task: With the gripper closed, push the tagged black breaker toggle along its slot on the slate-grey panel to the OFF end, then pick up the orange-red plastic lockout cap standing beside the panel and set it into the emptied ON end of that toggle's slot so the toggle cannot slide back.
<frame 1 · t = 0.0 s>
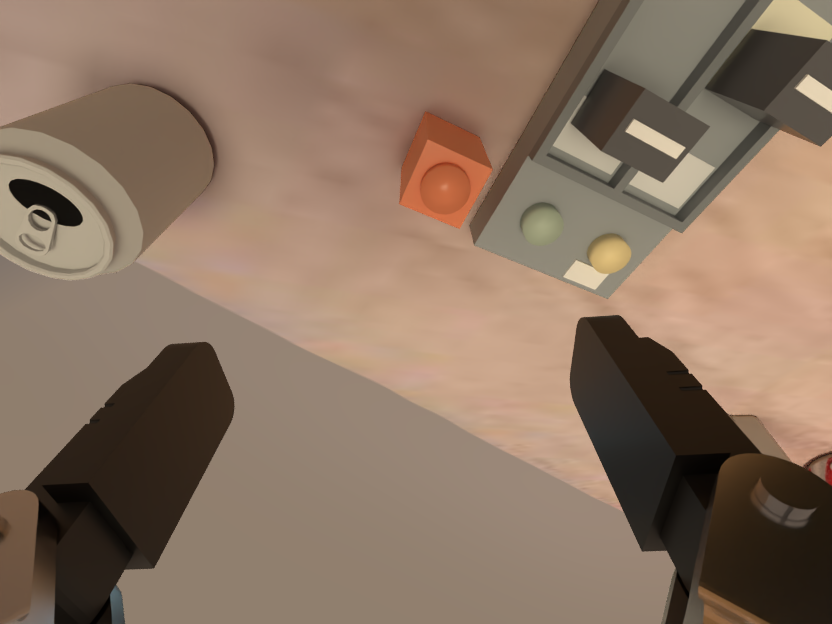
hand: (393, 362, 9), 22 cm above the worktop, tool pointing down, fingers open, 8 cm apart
breaker b: (633, 124, 22), point 6 cm above the worktop, slide at 4.5 cm
breaker a: (785, 86, 21), point 6 cm above the worktop, slide at 0.0 cm
lockout cap: (439, 152, 28), on the worktop
soda can: (829, 461, 53), on the worktop
breaker panel: (620, 133, 28), on the worktop
beige upright slab: (711, 422, 48), on the worktop
can: (162, 142, 28), on the worktop
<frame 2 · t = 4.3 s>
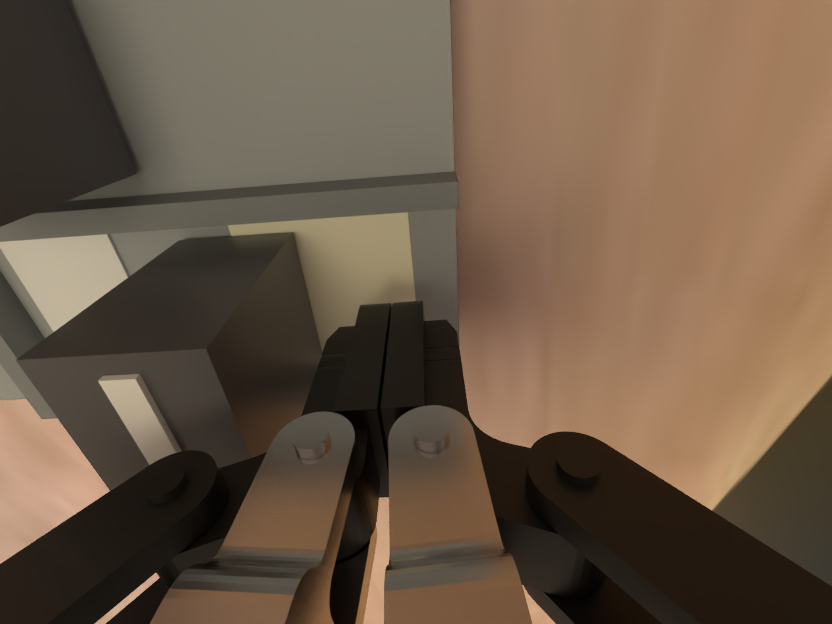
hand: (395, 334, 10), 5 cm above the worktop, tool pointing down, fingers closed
breaker a: (219, 360, 9), point 6 cm above the worktop, slide at 1.2 cm, touching gripper
breaker panel: (131, 184, 13), on the worktop
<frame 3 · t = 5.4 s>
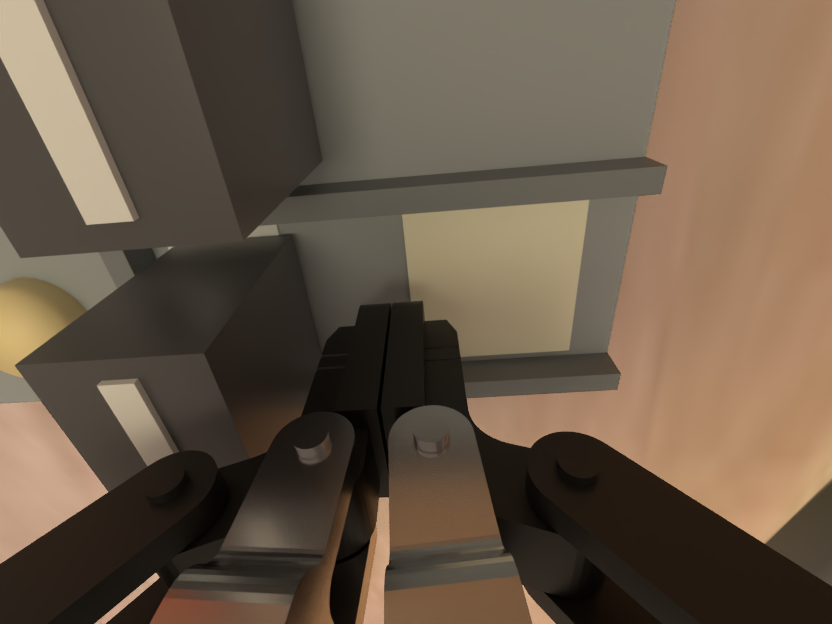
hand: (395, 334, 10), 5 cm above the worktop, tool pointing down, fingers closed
breaker b: (168, 68, 6), point 6 cm above the worktop, slide at 4.5 cm
breaker a: (218, 363, 9), point 6 cm above the worktop, slide at 5.6 cm, touching gripper
breaker panel: (269, 175, 13), on the worktop
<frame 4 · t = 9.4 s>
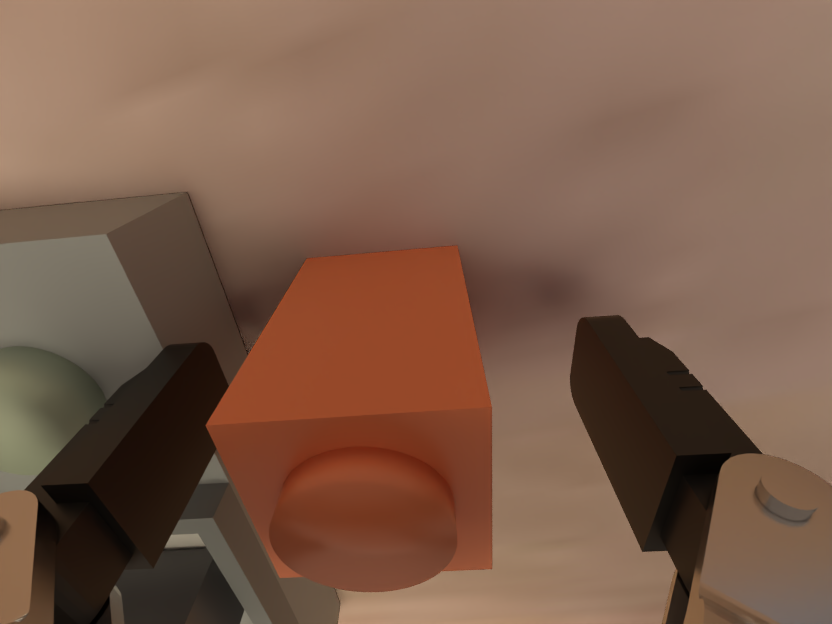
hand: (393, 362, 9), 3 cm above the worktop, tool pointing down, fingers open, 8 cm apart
lockout cap: (390, 316, 12), on the worktop
breaker panel: (132, 476, 15), on the worktop
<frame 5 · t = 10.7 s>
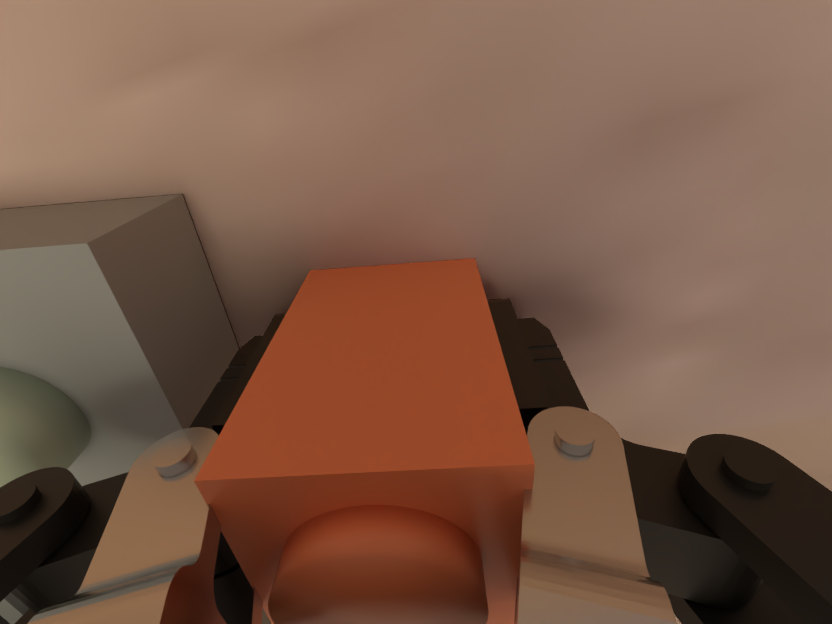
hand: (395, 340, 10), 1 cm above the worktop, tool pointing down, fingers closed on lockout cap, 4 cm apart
lockout cap: (400, 332, 11), on the worktop, touching gripper
breaker panel: (121, 494, 14), on the worktop
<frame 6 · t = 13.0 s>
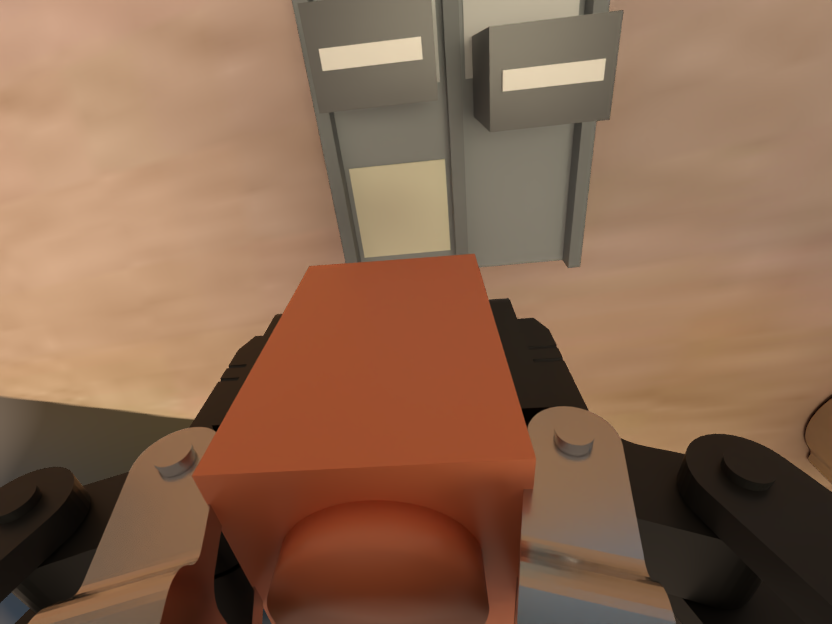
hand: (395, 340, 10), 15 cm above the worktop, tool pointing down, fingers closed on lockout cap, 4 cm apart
breaker b: (534, 73, 15), point 6 cm above the worktop, slide at 4.5 cm
breaker a: (378, 55, 15), point 6 cm above the worktop, slide at 5.7 cm
lockout cap: (399, 329, 11), point 14 cm above the worktop, touching gripper
breaker panel: (447, 54, 20), on the worktop
when the fingers open (5 cm above the worktop, at t = 15.7 s): lockout cap stays where it is, resting on breaker panel.
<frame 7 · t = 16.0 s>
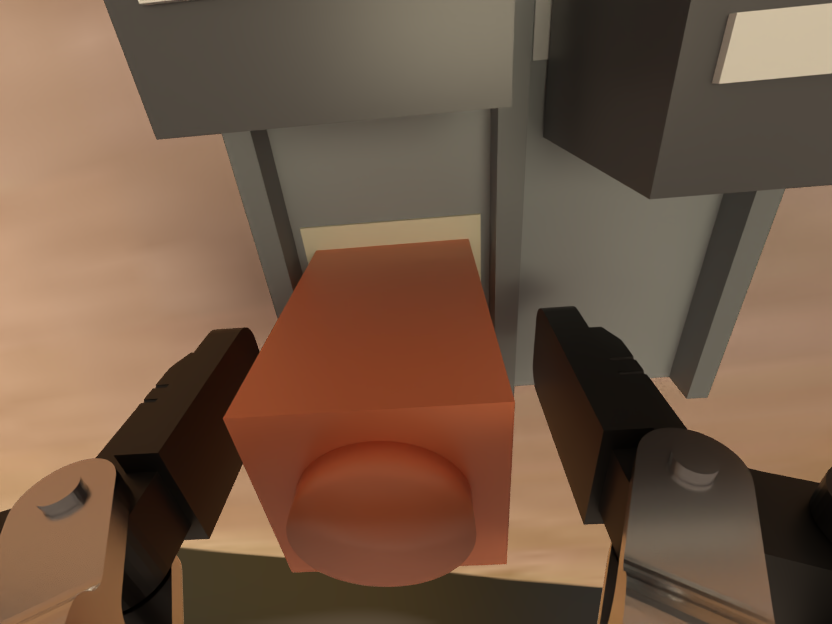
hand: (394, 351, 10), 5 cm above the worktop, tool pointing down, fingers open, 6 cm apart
breaker b: (728, 44, 6), point 6 cm above the worktop, slide at 4.5 cm
lockout cap: (399, 310, 12), point 3 cm above the worktop, touching breaker panel
breaker panel: (485, 19, 11), on the worktop
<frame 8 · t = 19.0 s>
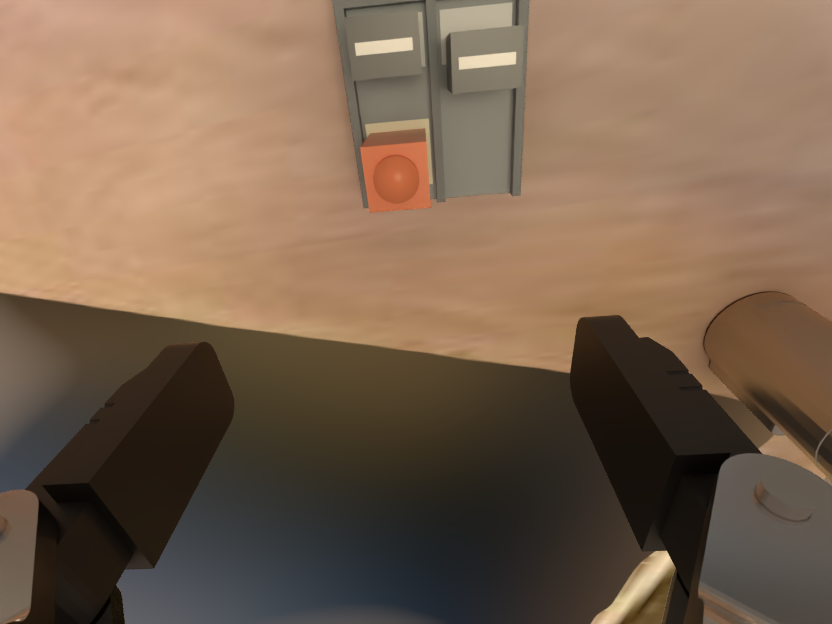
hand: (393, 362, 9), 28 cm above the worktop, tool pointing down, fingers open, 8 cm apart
breaker b: (481, 61, 25), point 6 cm above the worktop, slide at 4.5 cm
breaker a: (387, 48, 25), point 6 cm above the worktop, slide at 5.7 cm
lockout cap: (400, 159, 31), point 3 cm above the worktop, touching breaker panel
breaker panel: (431, 49, 30), on the worktop
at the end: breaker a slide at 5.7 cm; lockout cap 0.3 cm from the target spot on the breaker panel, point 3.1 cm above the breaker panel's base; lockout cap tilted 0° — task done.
